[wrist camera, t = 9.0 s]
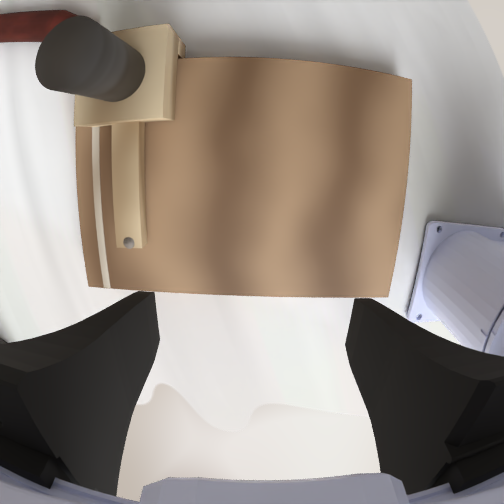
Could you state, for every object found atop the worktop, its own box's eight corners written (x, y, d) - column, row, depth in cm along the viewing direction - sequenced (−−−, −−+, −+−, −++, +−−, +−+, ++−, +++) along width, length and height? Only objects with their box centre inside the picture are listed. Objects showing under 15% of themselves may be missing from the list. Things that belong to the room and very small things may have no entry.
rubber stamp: (185, 46, 16) (135, -19, 7) (182, 235, 20) (132, 305, 11) (111, 55, 16) (26, 13, 7) (110, 233, 20) (32, 294, 11)
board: (398, 83, 17) (411, 79, 15) (377, 284, 22) (388, 297, 20) (92, 77, 17) (78, 72, 15) (100, 275, 21) (88, 286, 19)
